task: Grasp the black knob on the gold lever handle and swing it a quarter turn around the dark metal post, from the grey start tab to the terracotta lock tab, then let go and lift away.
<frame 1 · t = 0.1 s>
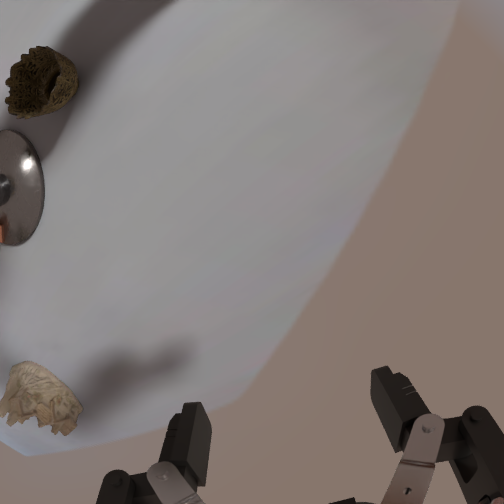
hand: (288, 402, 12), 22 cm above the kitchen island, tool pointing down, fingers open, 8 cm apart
post base: (5, 187, 28), on the kitchen island
ceramic cottage: (45, 387, 44), on the kitchen island
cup: (69, 87, 25), on the kitchen island
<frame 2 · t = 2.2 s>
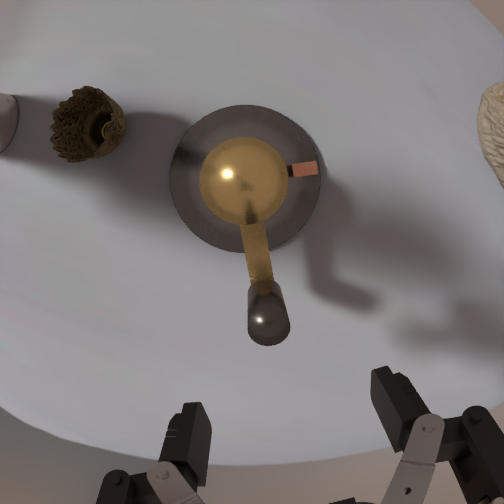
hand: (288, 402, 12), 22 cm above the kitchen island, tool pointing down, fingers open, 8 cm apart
post base: (245, 178, 31), on the kitchen island
gold lever handle: (253, 233, 22), point 10 cm above the kitchen island, hinge at 0.0°
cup: (113, 131, 29), on the kitchen island
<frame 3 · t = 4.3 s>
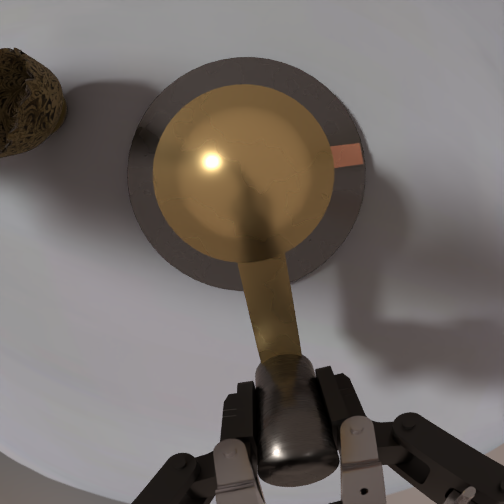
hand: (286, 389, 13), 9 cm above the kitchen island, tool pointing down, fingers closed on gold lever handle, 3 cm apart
post base: (245, 172, 19), on the kitchen island
gold lever handle: (265, 285, 10), point 10 cm above the kitchen island, hinge at 0.0°, touching gripper
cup: (55, 114, 18), on the kitchen island
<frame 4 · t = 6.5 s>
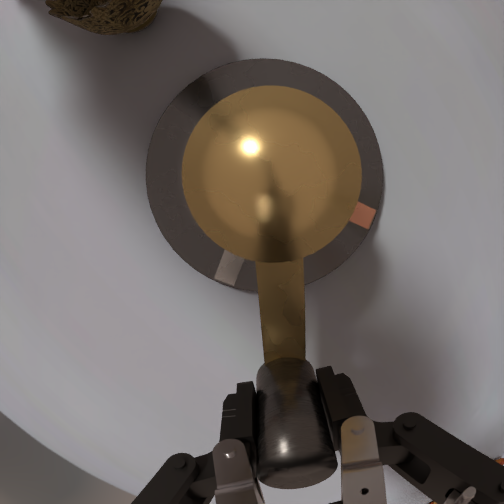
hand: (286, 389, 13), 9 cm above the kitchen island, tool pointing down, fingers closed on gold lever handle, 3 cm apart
post base: (265, 173, 19), on the kitchen island
gold lever handle: (284, 287, 10), point 10 cm above the kitchen island, hinge at 26.6°, touching gripper
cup: (139, 18, 16), on the kitchen island
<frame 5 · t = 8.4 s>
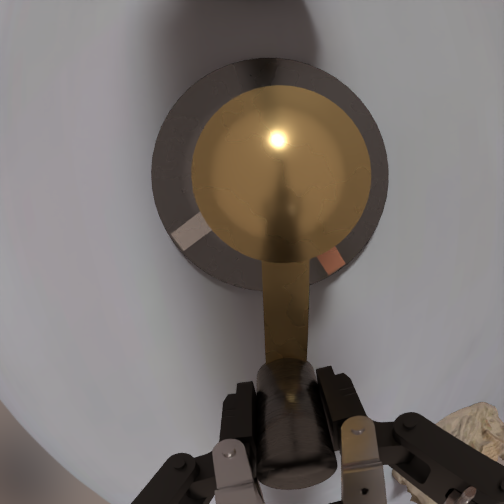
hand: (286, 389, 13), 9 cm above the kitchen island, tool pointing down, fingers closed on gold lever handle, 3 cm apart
post base: (271, 173, 19), on the kitchen island
ceramic cottage: (445, 441, 28), on the kitchen island
gold lever handle: (290, 288, 10), point 10 cm above the kitchen island, hinge at 57.7°, touching gripper
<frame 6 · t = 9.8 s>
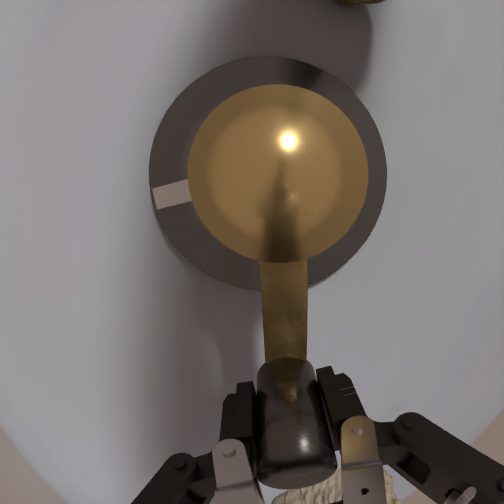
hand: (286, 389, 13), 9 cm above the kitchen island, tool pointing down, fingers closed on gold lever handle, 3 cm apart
post base: (269, 172, 19), on the kitchen island
ceramic cottage: (333, 491, 31), on the kitchen island
gold lever handle: (288, 288, 10), point 10 cm above the kitchen island, hinge at 82.1°, touching gripper
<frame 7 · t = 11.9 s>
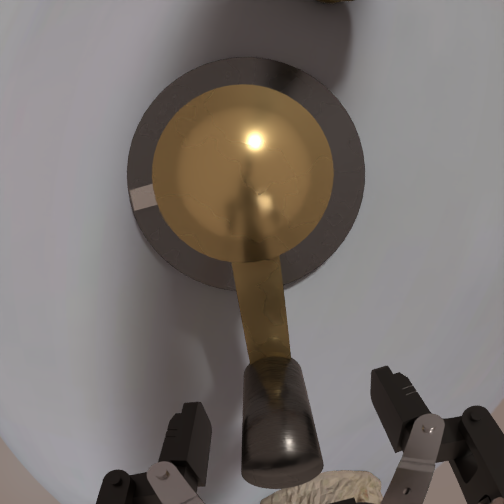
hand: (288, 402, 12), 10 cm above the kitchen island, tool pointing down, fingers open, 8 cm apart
post base: (245, 172, 19), on the kitchen island
ceramic cottage: (321, 494, 31), on the kitchen island
gold lever handle: (258, 287, 10), point 10 cm above the kitchen island, hinge at 86.7°
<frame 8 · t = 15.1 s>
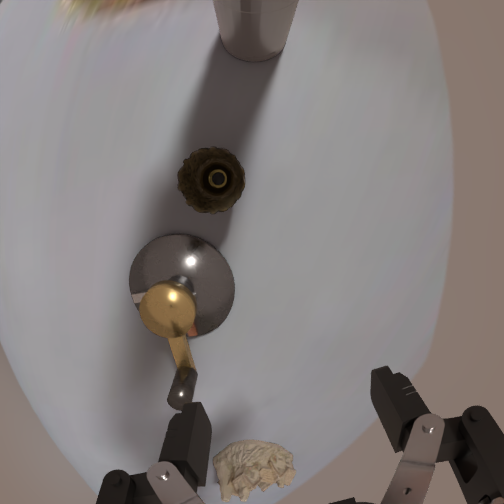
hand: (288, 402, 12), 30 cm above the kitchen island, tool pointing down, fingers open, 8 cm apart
post base: (181, 286, 43), on the kitchen island
ceramic cottage: (252, 458, 55), on the kitchen island
gold lever handle: (171, 347, 34), point 10 cm above the kitchen island, hinge at 86.7°
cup: (218, 178, 39), on the kitchen island
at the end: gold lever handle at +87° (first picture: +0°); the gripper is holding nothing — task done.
